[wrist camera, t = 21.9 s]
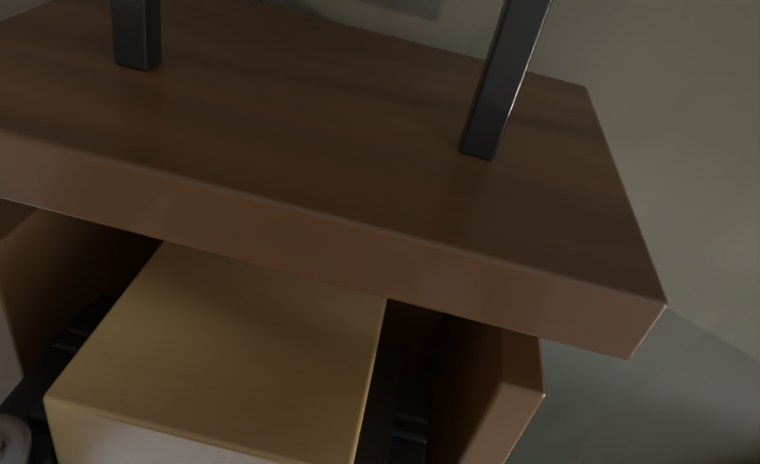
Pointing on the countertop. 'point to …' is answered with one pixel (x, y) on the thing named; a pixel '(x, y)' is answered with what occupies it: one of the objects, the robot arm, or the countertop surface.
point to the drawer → (322, 188)
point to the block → (219, 368)
